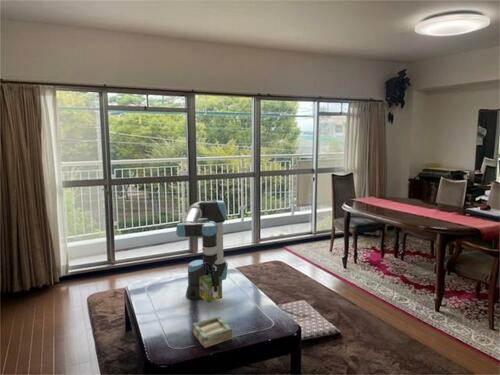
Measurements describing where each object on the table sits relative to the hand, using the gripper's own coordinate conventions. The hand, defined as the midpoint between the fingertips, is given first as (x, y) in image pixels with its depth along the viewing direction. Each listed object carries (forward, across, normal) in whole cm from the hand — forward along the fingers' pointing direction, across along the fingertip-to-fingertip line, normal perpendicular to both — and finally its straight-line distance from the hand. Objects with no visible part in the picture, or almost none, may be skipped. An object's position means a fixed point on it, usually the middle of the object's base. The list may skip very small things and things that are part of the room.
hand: (211, 293), depth 193 cm
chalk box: (+3, 0, 0) cm, 3 cm away
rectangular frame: (+25, 0, 0) cm, 25 cm away
